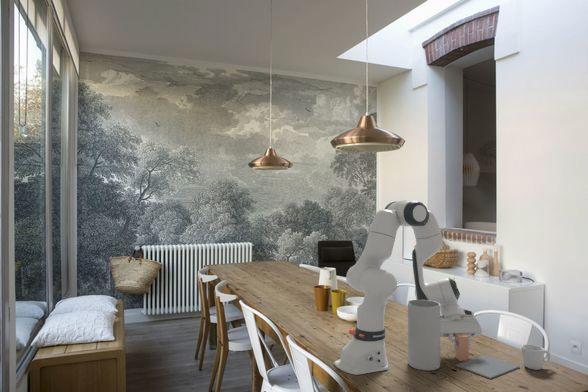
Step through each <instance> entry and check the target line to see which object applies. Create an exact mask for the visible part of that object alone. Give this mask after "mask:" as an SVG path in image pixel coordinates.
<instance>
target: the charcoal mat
mask: <svg viewBox="0 0 588 392" xmlns="http://www.w3.org/2000/svg"><path fill="white" fill-rule="evenodd" d="M455 367H457V368H459V369H462V370H464V371H468V372H470V373H473V374H475V375H479V376H481V377H483V378H486V379H489V380H492V379H495V378H497V377H500V376H502V375H505V374H507V373H510V372H513V371H516V370H518V369H520V365H517V364H514V363H511V362H508V361H505V360H502V359H498V358H497V357H496V358H495V357H493V356H489V355H487V354H483V355H481V356H476V357H474V358H471V359H469V360H468V361H461V362H459V363H457V364H455Z"/></svg>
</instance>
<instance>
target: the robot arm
mask: <svg viewBox="0 0 588 392" xmlns="http://www.w3.org/2000/svg"><path fill="white" fill-rule="evenodd" d="M400 226H402V227H410V228H412V230H413V233H414V238H415V243H416V244H415V247H414V249H413V250H412V252H411V257H412V259H411V260H412V273H413V278H414V295H415V296H414V297H415V300H429V301H435V302H438V303H439V304H440V338H448V341H450V342H451V343H452V346H453V347H455V346H458V343H457V340H455V334H466V335H467V336H468V337H469V347H471V345H472V343H471V338H472V337H480V336H481V334H482V333H483V329H482V327H481V324H480V322H479V320H478V319H477V317H475V312H474V311H472V310H469V309H466V308H463V307H461V306H460V304H459V303H458V300H459V298H460V296H461V293H460V292H461V291H459V288H458V285H457V282H456V281H455V280H454V279H452V278H450V277H443V278H441V279H436V280H432V281H429V282H425V281H424V279H425V278H424V270H423V267H424V264H425V263H426V261H427V260H429V259H430V258H432V257H433V256H435V255H436V254H437V253H438V252H439V251H440V250H441V249H442V247H443V244H444V239H443V234H442V231H441V228H440V225H439V222H438V221H437V218H436V216H435V214H434V213H433V211H432V210H429V209H428V208H427V206H426V205H425V204H424V203H423V202H422V201H421V202H420V201H418V200H405V199H404V200H398V201H397V200H396V201H392V202H389V203H388V204H387V205H385V208H384V209H380V210H378V211H377V212H376V213H375V216H374V217H373V219H372V222H371V225H370V228H369V231H368V234H367V235H368V236H367V238H366V242H365V246H364V248H363V250H362V253H361V255H360V257H359V258H358V260H357V261H356V263H355V264H354V265H352V266H350V267H349V269H348V270H347V272H346V276H345V278H346V282H347V284H348V285H349V287H351V289H352V288H353V289H354V290H355V291H358V292H360V293H363V294H364V297H363V300H362V303H361V304H359V305H358V307H357V308H356V309H357V310H356V327H355V329H352V328H349V330H348V334H350V335H352V336H353V337H352V338H351V339H350V340H349V342H348V343H346V344H345V346H344V347H342V349H341V350H340V356H339V359H337V360H335V361H334V365H335V367H336V368H338V369H339V370H341V371H342V372H345V373H347V374H351V375H354V376H355V375H356V376H357V375H358V376H359V375H363V374H370V373H375V372H381V371H388V370H389V361H388V357H387V350H386V343H385V338H386V328H385V313H386V312H385V311H386V306H387V303H388V301H389V299H390V297H392V296H394V294H395V293H396V290H397V287H398V283H397V282H398V281H397V278H396V277H395V275H394V274H392V273H390V271H387V270H385V269H381V267H382V265H383V264H384V263H385V262H386V261H387V260H389V259H390V257H392V253H393V251H394V250H393V249H394V246H395V242H396V237H397V233H398V229H399V228H400Z"/></svg>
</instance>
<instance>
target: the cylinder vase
mask: <svg viewBox="0 0 588 392" xmlns="http://www.w3.org/2000/svg"><path fill="white" fill-rule="evenodd" d="M440 316H441V312H440V304H439V303H438V302H435V301H429V300H416V299H412V300H408V301H407V363H408V365H409V366H410V367H411V368H413V369H415V370H419V371H424V372H425V371H426V372H427V371H428V372H430V371H436V370H438V369H440V367H441V337H440Z"/></svg>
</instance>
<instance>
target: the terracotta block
mask: <svg viewBox="0 0 588 392" xmlns="http://www.w3.org/2000/svg"><path fill="white" fill-rule="evenodd" d="M454 340H457V343H458V346H454V358H455V359H457V360H458V362H459V361H460V362H465V361H468V360H470V356H469V355H470V354H469V353H470V352H469V349H470V348H469V347H470V346H469V337H468V336H467V335H466V334H455V337H454Z"/></svg>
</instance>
